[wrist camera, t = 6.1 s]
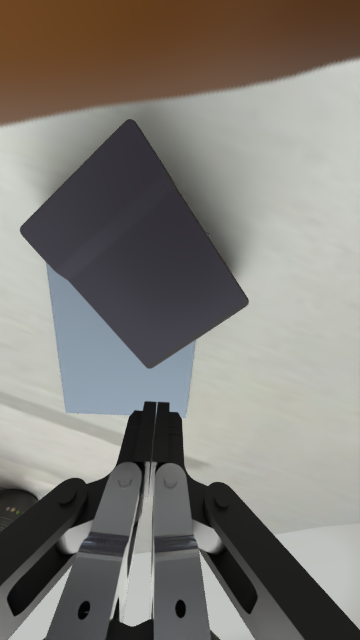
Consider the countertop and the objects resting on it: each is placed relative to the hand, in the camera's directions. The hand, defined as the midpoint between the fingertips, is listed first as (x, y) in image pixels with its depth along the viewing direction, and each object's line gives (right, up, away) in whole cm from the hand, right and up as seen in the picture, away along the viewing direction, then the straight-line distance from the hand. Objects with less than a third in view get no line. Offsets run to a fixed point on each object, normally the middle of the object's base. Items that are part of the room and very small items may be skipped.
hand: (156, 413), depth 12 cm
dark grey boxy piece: (+3, +4, +7) cm, 9 cm away
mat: (-4, +4, +10) cm, 12 cm away
